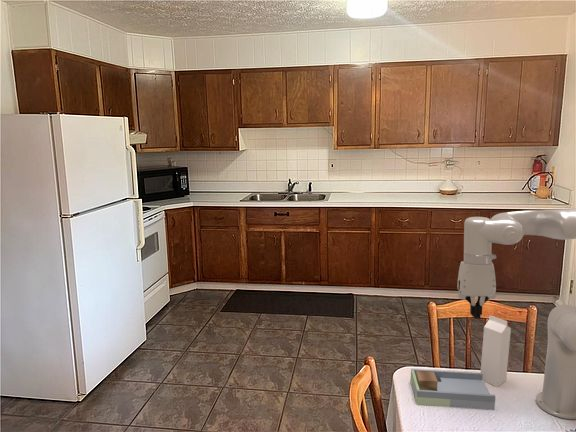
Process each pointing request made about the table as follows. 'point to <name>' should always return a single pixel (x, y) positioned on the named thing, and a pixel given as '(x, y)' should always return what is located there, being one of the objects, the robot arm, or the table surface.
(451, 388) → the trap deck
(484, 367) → the milk
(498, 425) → the table surface
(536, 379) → the table surface
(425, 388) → the block
